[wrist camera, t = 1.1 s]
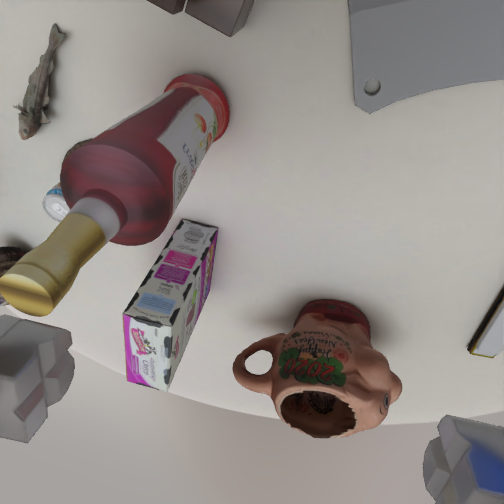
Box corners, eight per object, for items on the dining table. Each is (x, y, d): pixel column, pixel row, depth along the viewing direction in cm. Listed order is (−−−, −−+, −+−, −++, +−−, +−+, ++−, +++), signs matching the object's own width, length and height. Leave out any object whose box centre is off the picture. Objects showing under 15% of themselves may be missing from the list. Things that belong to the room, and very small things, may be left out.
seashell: (61, 284, 61) (28, 323, 55) (29, 285, 63) (-6, 323, 56) (29, 232, 56) (-11, 268, 50) (-4, 234, 57) (-47, 270, 51)
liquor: (165, 60, 39) (-74, 210, 17) (240, 78, 38) (96, 256, 16) (162, 132, 43) (-29, 326, 21) (229, 149, 43) (104, 363, 21)
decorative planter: (252, 346, 61) (231, 433, 51) (243, 285, 54) (216, 371, 43) (391, 358, 57) (400, 455, 46) (401, 293, 50) (416, 391, 39)
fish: (29, 127, 47) (50, 156, 46) (-6, 124, 44) (15, 156, 43) (64, 16, 40) (90, 47, 39) (25, 5, 37) (51, 38, 36)
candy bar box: (179, 216, 49) (119, 312, 37) (219, 226, 49) (173, 326, 36) (175, 283, 56) (124, 383, 44) (210, 292, 56) (169, 395, 43)
